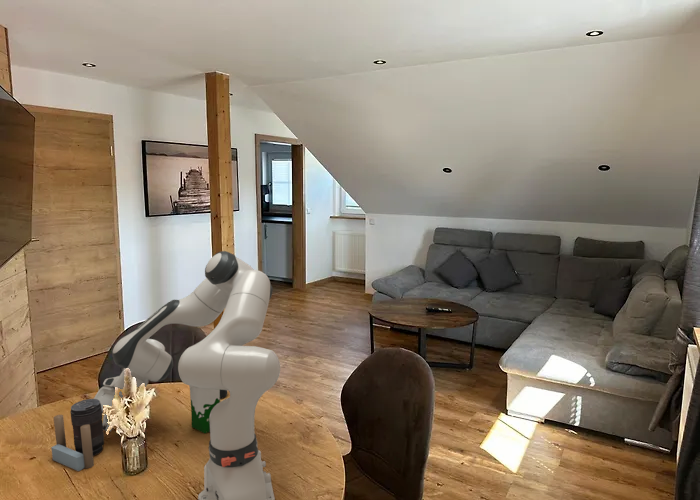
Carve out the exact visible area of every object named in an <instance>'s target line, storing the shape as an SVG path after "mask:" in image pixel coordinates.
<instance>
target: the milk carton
mask: <svg viewBox="0 0 700 500" xmlns="http://www.w3.org/2000/svg"><path fill="white" fill-rule="evenodd" d="M188 387H189V396H190V413H191V428H193V429H195V430H197V431H198V432H200V433H203V434H208V433H210V421H209V417H210V413H211V411H212V409H213V408H214V406H215V405H217V404H218V403H219V402H221V399H220V390H217V389H201V388H197V387H193V386H190V385H188Z"/></svg>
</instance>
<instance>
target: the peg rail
mask: <svg viewBox="0 0 700 500" xmlns="http://www.w3.org/2000/svg"><path fill="white" fill-rule="evenodd" d="M53 423H54V424H53V425H54V433H55V443H56V444H55V445H53V446H51V447H50V448H51V457H52V458H51V459H52V461H55V462H56V463H59V464H60V465H63V466H66V467H67V468H70V469H71V470H75V471H76V472H80V471H81V470H83V469H91V468H92V467H94V465H95V463H94V456H93V451H92V441H91V430H90V425H89V424H86V425H83V426H81V427H80V429H81V439H82V449H83V454H82V453H79V452H77V451H76V450H75V449H72V448H69V447H68V446H67V441H66V439H67V438H66V431H65V430H66V429H65V421H64V415H63V414H57V415H55V416H53Z"/></svg>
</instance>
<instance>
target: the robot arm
mask: <svg viewBox="0 0 700 500" xmlns="http://www.w3.org/2000/svg"><path fill="white" fill-rule="evenodd" d="M204 276H205V279H204V280H202V281H201V282H200V284H199V285H197V287H195V289H194V290H193V291H192V292H191V293H190V294H188V295H187V296H185V297H183V298H180V299H172V300H170V301H168V302H167V303H165V304H164V305H163V306H161V307H160V308H159V309H158V310H156V311H155V312H154V313H153V314H151V315H150V316H149V317H148V318H147V319H146V320H144V321H143V322H142V323H140V324H139V325H138V326H136V328H134V329H133V330H131V331H130V332H129V333H126V334H125V335H124V336H123V337H121V338H120V339H119V340H118V341H117V342H116V344H115V345H114V347H113V348H112V351H111V354H112V355H111V356H112V358H113V359H112V360H113V362H114V364H115V365H116V366H118V367H121V368H123V369H124V370H125V369H126V368H129V369H130V371H131V375H132V376H133V377H135V378H136V381H137V387H139V386H140V385H141V384H142V383H145V387H147V386H148V383H149V381H150V382H156V383H157V382H161V381H163V380H166V379H167V378H168V377H169V376H170V373H171V372H172V370H173V368H174V359H173V356H172V355H171V354H169V352H167V351H166V347H165V345H164V344H163V343H162V342H160V341H159V340H157V339H154V338H153V339H152V338H150V337H152V336H153V335H155V333H156V332H158V331H159V330H161V328H162V327H164V326H166V325H170V324H171V325H172V324H175V325H176V324H177V325H178V324H179V325H185V326H188V327H205V326H207V325H210V324H212V323H213V322H215V320H216V319H217V318H218V317H219V316H220V315H221V314H222V316H221V318H220V320H219V321H218V324H217V325H216V326H215V327H214V329H212V331H211V332H210V333H209V334H208V335H207V336H206V337H204V338H203V339H201V340H200V341H199V342H196V343H195V344H193V345H191V346H189V347H188V348H186V349H185V350H184V351H183V352H182V354H181V356H180V358H179V360H178V363H177V371H178V375H179V377H180V380H181V382H182V383H183V384H185V385H187V386H189V385H190V386H193V387H197V388H201V389H217V390H227V392H229V397H227V398H225V399H222V400H220V402H219V403H218V404H217V405H215V406H214V408H213V409H212V411H211V413H210V417H209V421H210V432H209V437H210V440H209V442H208V452H209V453H208V454H209V459H208V461H207V462H206V464H205V465H204V468H203V472H204V473H203V477H204V478H203V481H204V482H203V483H204V484H203V485H204V486H203V487H204V489H203V490H202V491H201V492H199V494H198V495H197V496H198V498H197V500H275V499H276V498H275V494H274V490H273V484H272V476H271V472H266V471H264V469H263V468H265V467H267V466H266V465H267V463H266V461H265V460H262V450H259V448H258V439H257V435H256V433H255V416H256V407H257V405H258V403H259V401H260V400H261V397H262V396H263V395H264V394H265V393H266V392H267V391H268V390H270V389H271V388H273V387H274V386H275V384H276V383H277V381H278V380H279V377H280V373H281V363H280V359H279V357H278V355H277V354H276V353H275V351H274V350H272V349H268V348H264V347H262V346H261V347H260V346H257V345H256V346H255V345H252V346H251V345H246V344H248V343H251V342H252V341H254V340H255V339H257V338H258V337H259V336H260V334H261V333H262V331H263V328H264V322H265V320H266V315H267V312H268V307H269V305H270V300H271V298H272V297H273V296H272V295H273V286H272V284H271V281H270V278H269V277H268V275H267V274H266V273H264V272H263V271H261V270H259V269H255V268H253V267H252V266H251V265H249V264H248V263H247V262H245V261H244V260H242V259H240V258H239V257H236V255H235V254H233V253H232V252H230V251H226V250H223V251H222V250H221V251H218V252H216V253H215V254H214V255H212V257H211V258H210V259H209V261H208V262H207V263H206V265H205V268H204ZM222 312H223V313H222ZM124 370H122V371H121V373H120V374H119V375H117V376H114V377H109V378H106V379H104V381H103V383H102V385H103V386H102V387H100V389H98V391H97V393H96V394H95V396H94V397H93V399H98V400H99V401H100V403H101V408H102V414H104V415H103V416H102V424H103V431H106V432H108V431H107V429H108V427H109V425H108V423H107V422H108V419H107V415H106V414H105V413H103V405H109V406H112V400H113V398H114V395H115V387H118V388H120V389H123V387H124ZM119 396H120V397H121V398H122V397H123V395H122V392H121V391H120V392H119ZM112 430H113V428H112V429H111V430H110V432H111V431H112Z"/></svg>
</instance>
